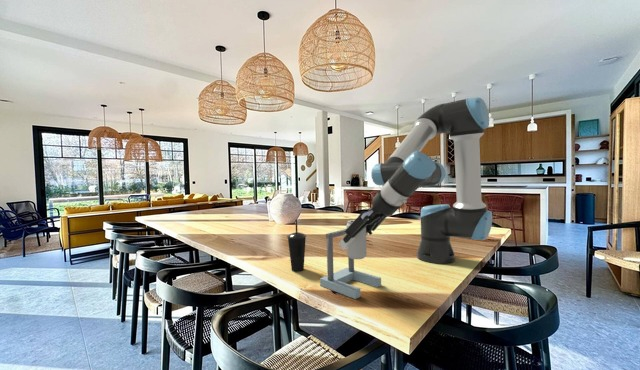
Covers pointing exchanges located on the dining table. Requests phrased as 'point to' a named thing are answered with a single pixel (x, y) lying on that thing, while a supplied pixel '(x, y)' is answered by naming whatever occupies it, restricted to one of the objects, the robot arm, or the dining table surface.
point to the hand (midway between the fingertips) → (347, 244)
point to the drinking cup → (297, 250)
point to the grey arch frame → (344, 273)
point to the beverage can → (357, 244)
